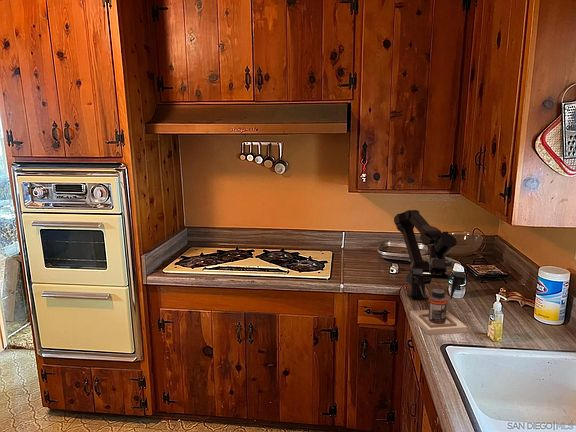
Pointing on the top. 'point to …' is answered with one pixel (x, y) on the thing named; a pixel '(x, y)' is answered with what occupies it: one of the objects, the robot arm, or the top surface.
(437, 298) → the supplement bottle
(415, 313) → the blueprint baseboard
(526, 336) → the top surface
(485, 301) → the top surface
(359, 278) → the top surface
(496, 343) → the top surface
